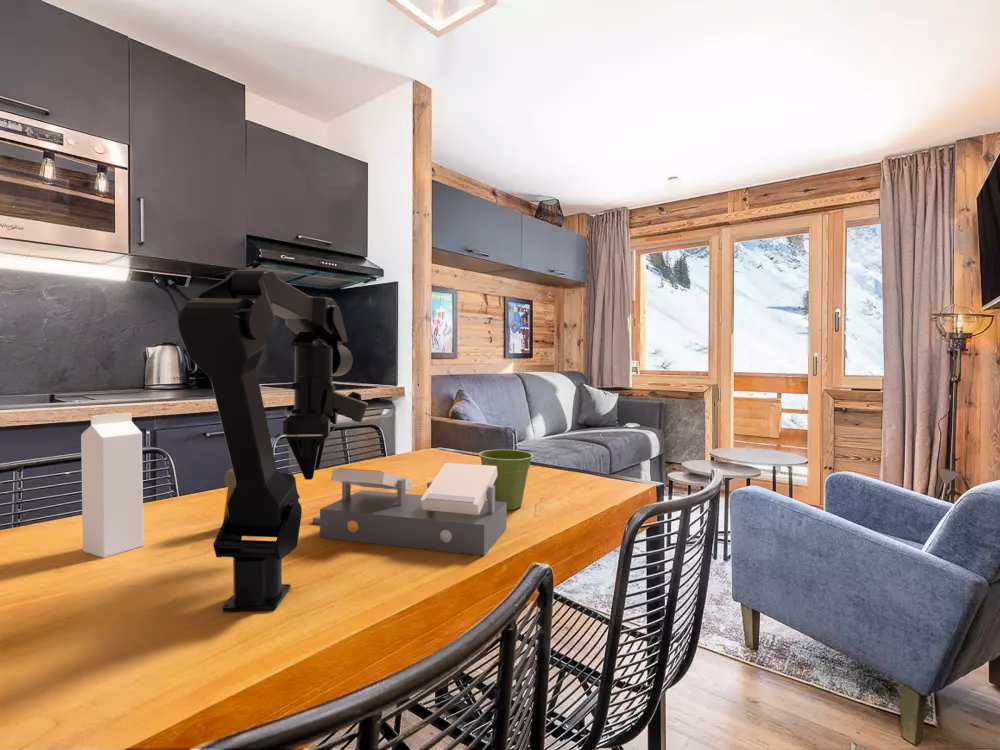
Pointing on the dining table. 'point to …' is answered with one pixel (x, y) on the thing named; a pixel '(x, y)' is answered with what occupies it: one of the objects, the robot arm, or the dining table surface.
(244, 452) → the robot arm
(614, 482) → the dining table surface
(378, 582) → the dining table surface
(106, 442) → the milk
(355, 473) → the orange striped rocker plate
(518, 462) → the plant pot
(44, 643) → the dining table surface
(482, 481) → the white rocker
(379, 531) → the rocker switch box
